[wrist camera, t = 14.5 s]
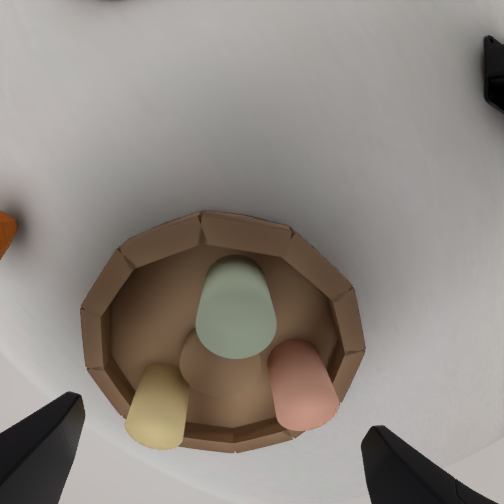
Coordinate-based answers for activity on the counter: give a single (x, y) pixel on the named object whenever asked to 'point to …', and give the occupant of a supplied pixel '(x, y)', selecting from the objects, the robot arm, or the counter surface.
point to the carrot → (6, 231)
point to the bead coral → (301, 386)
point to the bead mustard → (159, 407)
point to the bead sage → (235, 309)
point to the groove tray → (184, 323)
